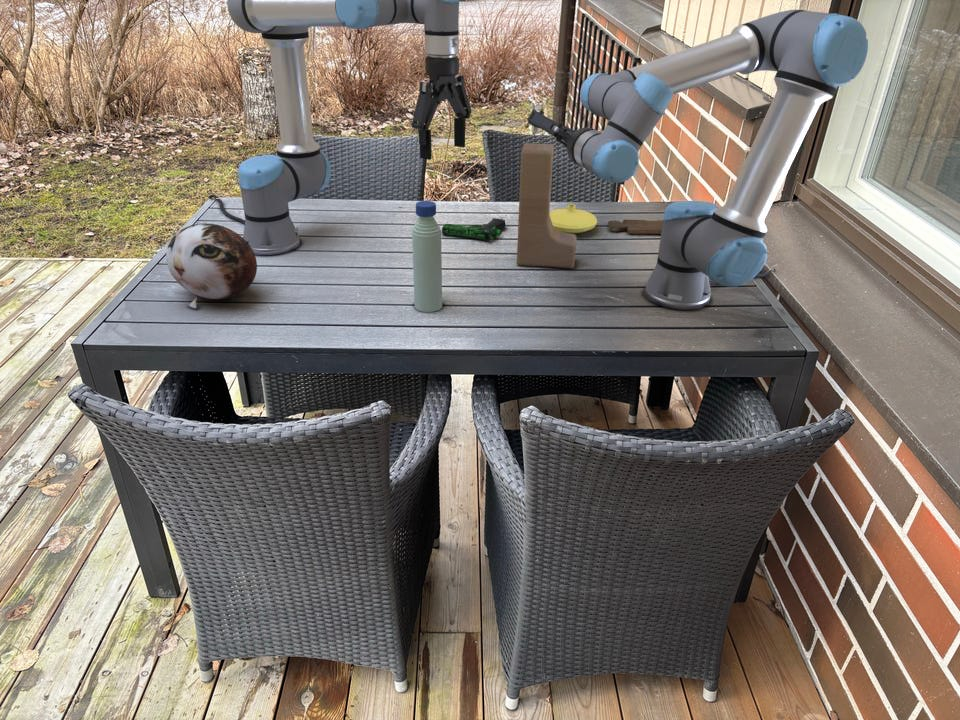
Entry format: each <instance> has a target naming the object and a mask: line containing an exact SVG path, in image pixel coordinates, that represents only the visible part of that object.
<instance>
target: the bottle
mask: <svg viewBox="0 0 960 720" xmlns="http://www.w3.org/2000/svg"><path fill="white" fill-rule="evenodd" d="M411 243H412V266H413V267H412V269H413V270H412V271H413V272H412V273H413V274H412V275H413V295H414V298H413V299H414V300H413V301H414V309H416V311H419V312H423V313H433V312H437V311H439V310H441V309H442V308H443V270H442V269H443V267H442V265H443V264H442V262H443V261H442V258H443V257H442V229H441V227H440V225H439V223H438V222H437V221H436V219H435V217H434V216H432V217H420V216H418V218H417V220H416V221H415V223H414V225H413V227H412V230H411Z"/></svg>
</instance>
